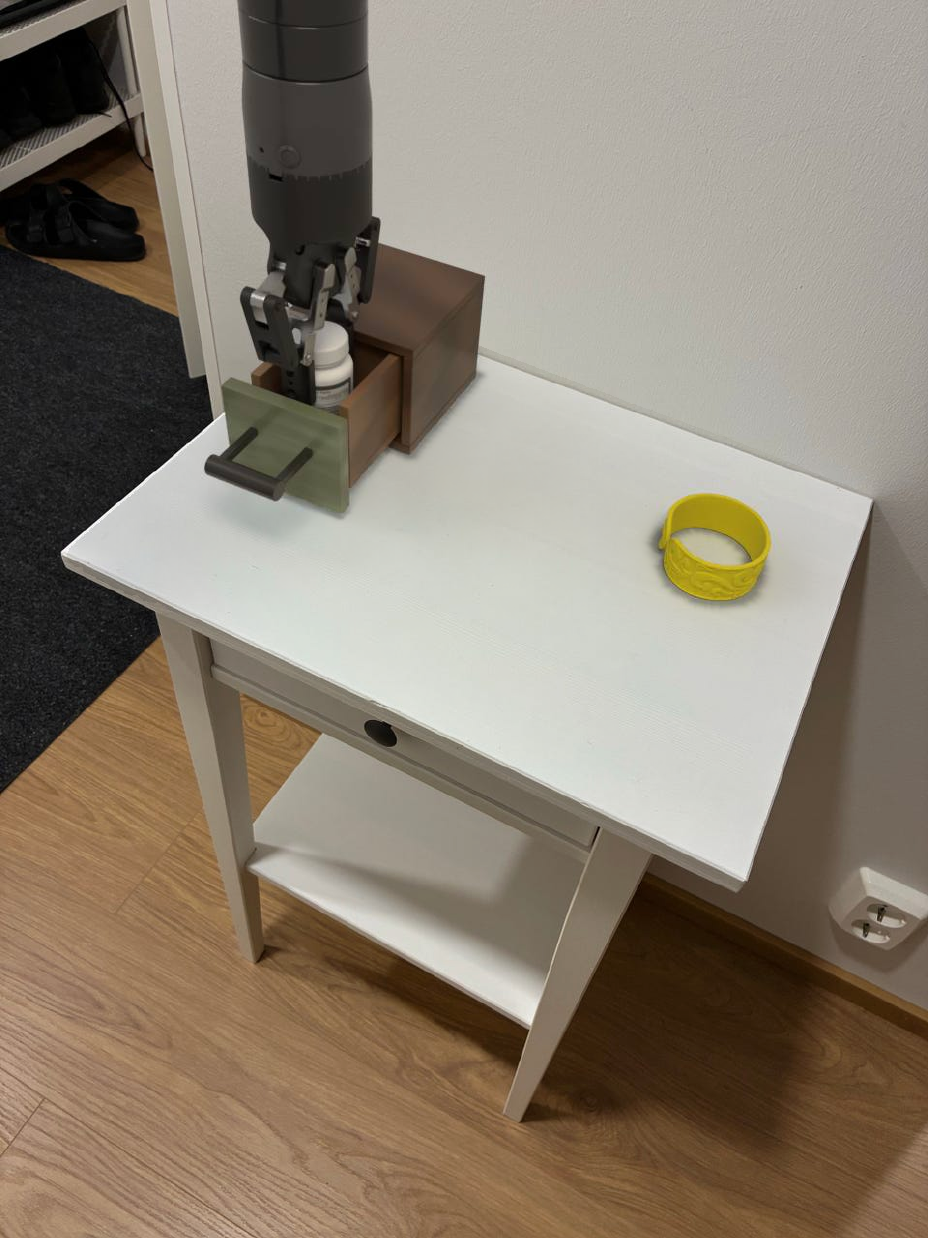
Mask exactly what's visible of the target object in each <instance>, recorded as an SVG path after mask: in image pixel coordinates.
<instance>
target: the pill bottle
mask: <svg viewBox="0 0 928 1238" xmlns="http://www.w3.org/2000/svg"><path fill="white" fill-rule="evenodd" d="M292 334H293V337H294V341H295V343H297V344H300V339H301V332H300V330H299V329H296V328H294V329H293V330H292ZM348 351H349V345H348V334H347V332H346V330H345V329H344V328H343V327H341V326H340V325H338V324H336V323H333V322H329V321H325V323H324V328H323V329H322V330H321V331H318V332H317V333H316V340H315V347H314V354H313V359H312V360H314V362H315V383H316V402H315V403H314V404H313V405H312V407H315V408H318V409H320V410H323V411H326V412H329V413H332V414H334V415H337V416H339V404H340V403H341V402H342V401H343V400H344V399H345V398H346V397H347V396H348V395H349V394H350V393H351V392H352V391H353V361H352V359H351V357H350V355H349V354H348Z"/></svg>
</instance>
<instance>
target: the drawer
mask: <svg viewBox="0 0 928 1238" xmlns="http://www.w3.org/2000/svg"><path fill="white" fill-rule="evenodd" d="M403 369H404V356H401V355H398V354H395V353H392V352H389V351H387V350H384V349H381V348H378V347H375V346H372V345H369V344H366V343H363V342H360V341H357V340H354V365H353V391H352V392H351V393H350V394H349V395H348V396H347V397H346V398H345V399H344V400H343V401H342V402H341V403H340V404H339V416H337V415H334V414H332V413H329V412H326V411H323V410H320V409H318V408H315V407H312V406H309V405H307V404H304V403H301V402H298V401H296V400H293V399H290V398H287V397H285V396H284V395H283V385H282V383H283V382H282V372H281V367H279V366H276V365H274V364H271V363H268V362H267V363H266V362H263V361H262V362H261V363H260V364H259V365H258V366H256V368H254V370H253V371H252V372H250V378H251V379H250V380H251V383H249V382H247V381H243V380H240V379H237V378H235V377H231V376H230V377H229V378H228V379H227V380H226V381H224V382H223V383H222V384H221V393H222V400H223V401H222V402H223V409H224V415H225V423H226V430H227V438H228V444H229V446H228V447H227V448H226V449H225V450H224V451H222V452H221V453H220V454H219V455H218V454H216V453H212V454H210V455H209V456H208V457H207V458H206V460H205V462H204V464H203V472H204V473H205V475H207V476H209V477H212V478H214V479H217V480H219V481H222V482H225V483H227V484H229V485H232V486H234V487H237V488H239V489H242V490H245V491H247V492H250V493H252V494H255V495H257V496H260V497H262V498H265V499H267V500H270V501H272V502H279V501H280V500H281V499H282V497H283V496H284V493H285V494H288V495H290V496H293V497H295V498H298V499H300V500H303V501H305V502H308V503H311V504H313V505H316V506H318V507H321V508H324V509H326V510H329V511H331V512H334V513H336V514H339V515H342V514H343V513H344V512H345V511H346V510H347V509H348V507H350V489H351V488H352V487H353V486H354V485H355V484H356V482H358V480H359V479H360V478H361V477H362V476H363V475H364V474H365V472H367V470H368V469H369V468H370V467H371V466H372V464H373V463H374V462H375V461H376V460H377V458H379V456H381V454H382V453H383V452H384V451H385V450H386V449H387V448H388V447H387V446H388V445H389V444H390V443H391V442H392V441H393V439H394V438H395V437H396V436H397V435H398V434H399V433H400V431H401V430H402V403H403Z"/></svg>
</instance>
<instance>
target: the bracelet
mask: <svg viewBox="0 0 928 1238" xmlns="http://www.w3.org/2000/svg"><path fill="white" fill-rule="evenodd" d="M667 511H668V512H667V514H666V519H665V521H664V524H663V527H662V530H661V535H662V536H661V538H660V539H659V543H658V548H659V549H660V550H664V552H665V553H664V557H663V566H664V570H665V573H666V575H667V577H668V579H670V582H672V583H673V584H674V585H675V586H676V587H677V588H678V589H680V590H681V591H683V592H685V593H686V594H689V595H691V596H694V597H696V598H699V599H703V600H708V601H730V600H734V599H738V598H741V597H743V596H745V595H746V594H747V593H749V592H750V591H751V590H752V588H754V586H755V585H756V583H757V581H758V577H759V576H760V574H761V573H762V571H763V568H764V566H765V563H766V561H767V558H768V556H769V553H770V551H771V548H772V547H771V546H772V538H771V532H770V530H769V527H768V525H767V523H766V522H765V520H764V519H763V517H762V516H761V515H760V514H759V513H758V512H757V511H756V510H755V509H754V508H752V507H751V506H749V505H747V504H746V503H744V502H742V501H741V500H739V499H737V498H734V497H731V496H727V495H723V494H720V493H718V494H717V493H709V492H707V493H706V492H705V493H704V492H702V493H701V492H700V493H693V494H688V495H686V496H684V497H682V498H680V499H677V500H676V501H675V502H674V503H673V504H672V505H671V506H670V507H669V509H668V510H667ZM692 528H695V529H697V528H698V529H707V530H711V531H712V530H713V531H716V532H719V533H721V534H724V535H726V536H728V537H730V538H731V539H733V540H734V541H736V542H737V543H738V544H740V545H741V546H742V547H743V549H744V550H745V551H746V552H747V554H748V555H749V557H750V559H751V561H750V562H747V563H744V564H743V563H742V564H737V565H736V564H735V565H734V564H733V565H731V564H730V565H727V564H719V563H715V562H714V563H713V562H711V561H707V560H704V559H703V558H700V557H698V556H696V555H695V554H693V553H692V552H691V551H690V550H688V549H687V547H686V546H685V545H684V544H683V543H682V541H681V540H680V539H679V538H676V537H671V535H673V534H675V533H676V532H679V531H682V530H685V529H692Z"/></svg>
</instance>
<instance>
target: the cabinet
mask: <svg viewBox="0 0 928 1238" xmlns="http://www.w3.org/2000/svg"><path fill="white" fill-rule="evenodd" d="M355 267H356V266H355ZM356 272H357V276H358V280H359V284H360V277H361V270H360V268H358V267H356ZM485 284H486V275H484V274H481V273H477V272H474V271H471V270H468V269H465V268H461V267H458V266H456V265H452V264H450V263H449V264H448V263H446V262H442V261H439V260H436V259H434V258H433V259H432V258H429V257H426V256H424V255H423V256H422V255H419V254H416V253H413V252H411V251H407V250H403V249H400V248H397V247H394V246H391V245H387V244H384V243H381V242H378V249H377V257H376V265H375V273H374V280H373V288H372V296H371V299H370V301H369V302H368V303H367V304H364V303H361V304H360V305H359V309H360V314H359V318H358V320H357V321H356V323H354V340H357V341H360V342H363V343H366V344H369V345H372V346H375V347H378V348H381V349H384V350H387V351H389V352H392V353H395V354H398V355H401V356H404V369H403V403H402V430H401V431H400V433H399V434H398V435H397V436H396V437H395V438H394V439H393V441H392V442H391V443H390V444H389V445H388V446H387V447H386V448H389V449H393V450H396V451H398V452H401V453H403V454H406V455H410V454H411V453H412V452H413V451H414V450H415V449H416V447H418V445H419V444H420V443H421V441H422V440H423V439H425V437H426V436H427V435H428V433H429V432H430V431H431V430H432V429H433V428H434V426H435V425H436V424H437V423H438V422H439V420H441V418H442V417H443V416H444V415H445V413H446V412H447V411H448V410H449V409H450V407H451V406H452V405H453V404H454V403H455V402H456V401H457V399H458V398H459V397H460V396H461V395H462V393H463V392H464V391H465V390H466V389H467V388H468V387H469V385H470V384H471V383H472V382H473V380H474V379H476V376H477V365H478V358H479V357H478V355H479V344H480V334H481V326H482V316H483V315H482V313H483V304H484V295H485V293H484V292H485ZM289 307H290V308H291V309H292V310H293V311H296V312H299V313H302V314H305V315H308V316H310V310H306V309H303V308H300V307H297V306H294V305H290V306H289ZM326 316H327V314H326ZM293 329H294V328H293V327H291V330H293Z"/></svg>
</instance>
